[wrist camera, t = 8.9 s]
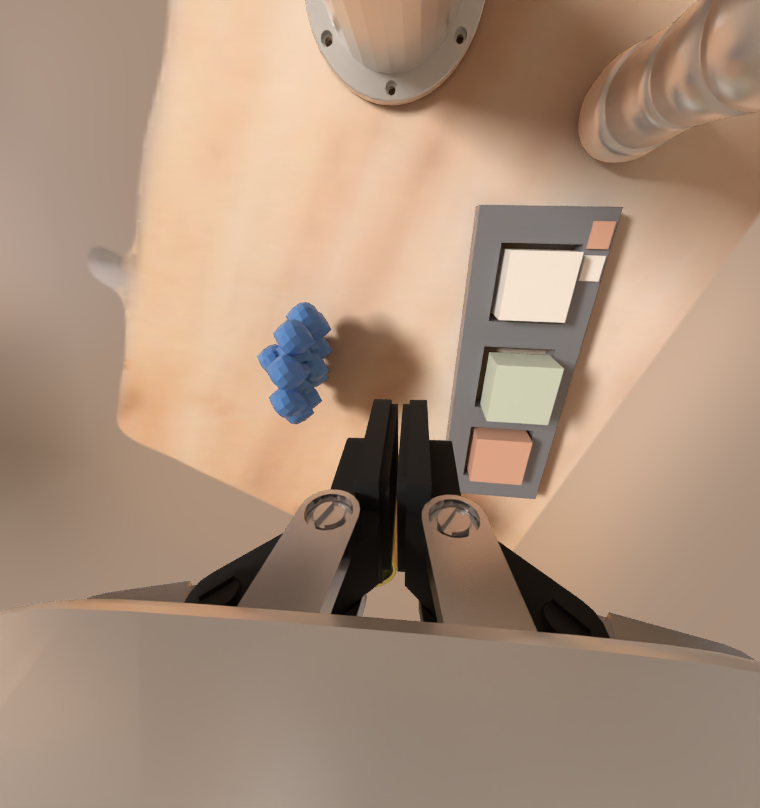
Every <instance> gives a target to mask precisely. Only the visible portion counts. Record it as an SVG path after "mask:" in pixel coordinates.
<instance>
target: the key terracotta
mask: <svg viewBox="0 0 760 808" xmlns="http://www.w3.org/2000/svg"><path fill="white" fill-rule="evenodd" d="M531 447H532V441H531V439H530V437H529V435H528V434H527V432H526V430H513V429H498V428H483V427H472V428H471V434H470V440H469V446H468V452H467V458H466V465H467V470H468V474H469V479H470V481H475V482H487V483H500V484H513V485H521V484H522V480H523V477H524V473H525V469H526V466H527V462H528V458H529V454H530V451H531Z"/></svg>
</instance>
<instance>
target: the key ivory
mask: <svg viewBox="0 0 760 808" xmlns="http://www.w3.org/2000/svg"><path fill="white" fill-rule="evenodd" d="M583 253H584V252H580V251H571V250H548V249H508V248H501V253H500V259H499V265H498V271H497V277H496V283H495V289H494V295H493V302H492V308H491V312H492V313H493V314H494V316H495V317H496V318H497V319H498V320H510V321H534V322H558V323H565V320H566V317H567V313H568V309H569V305H570V302H571V298H572V294H573V291H574V287H575V283H576V279H577V276H578V272H579V268H580V264H581V261H582V257H583Z"/></svg>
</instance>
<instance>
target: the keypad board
mask: <svg viewBox="0 0 760 808" xmlns="http://www.w3.org/2000/svg"><path fill="white" fill-rule="evenodd" d="M622 208H623V207H581V206H515V205H479V206H477V207H476V211H475V219H474V227H473V234H472V242H471V250H470V258H469V266H468V273H467V281H466V289H465V297H464V304H463V312H462V320H461V328H460V335H459V343H458V351H457V359H456V366H455V374H454V382H453V390H452V397H451V405H450V413H449V421H448V428H447V436H446V441H452V444H453V450H454V456H455V462H456V468H457V475H458V481H459V487H460V493H468V494H480V495H492V496H505V497H517V498H529V499H535V498H536V495H537V491H538V488H539V485H540V481H541V478H542V475H543V471H544V468H545V465H546V461H547V458H548V455H549V451H550V448H551V445H552V441H553V438H554V435H555V431H556V428H557V425H558V421H559V418H560V415H561V411H562V408H563V405H564V401H565V398H566V395H567V391H568V388H569V385H570V382H571V378H572V375H573V372H574V368H575V365H576V362H577V358H578V355H579V352H580V348H581V345H582V342H583V338H584V335H585V332H586V328H587V325H588V322H589V318H590V315H591V312H592V308H593V305H594V302H595V298H596V295H597V292H598V288H599V285H600V282H601V278H602V275H603V272H604V268H605V265H606V262H607V258H608V255H609V252H610V248H611V245H612V242H613V238H614V235H615V232H616V228H617V225H618V222H619V218H620V215H621V212H622ZM501 243H540V244H573V248H572V251H580V252H584V253H583V257H582V261H581V264H580V268H579V272H578V276H577V279H576V283H575V287H574V291H573V294H572V298H571V302H570V305H569V309H568V313H567V317H566V320H565V323H558V322H534V321H510V320H498V319H497V318H496V317H489V316H490V310H491V304H492V297H493V291H494V285H495V279H496V273H497V267H498V261H499V255H500V249H501ZM484 346H489V347H510V348H531V349H547V350H546V354H545V355H550V356H551V357H552V358H553V359H554V360H555V361H556V362H557V363H559V364H560V365H561V366H562V367H563V368H564V371H563V374H562V378H561V381H560V385H559V388H558V392H557V395H556V399H555V402H554V406H553V409H552V413H551V416H550V420H549V423H548V425H538V424H522V423H507V422H492V421H486V418H485V416H484V413H483V410H482V407H481V405H480V403H481V399H476V394H477V388H478V382H479V376H480V370H481V364H482V358H483V352H484ZM471 427H483V428H498V429H513V430H526V432H527V434H528V435H529V437H530V439H531V441H532V447H531V451H530V454H529V458H528V462H527V466H526V469H525V473H524V477H523V480H522V484H521V485H513V484H500V483H487V482H475V481H470V479H469V474H468V470H467V465H465V461H466V455H467V448H468V442H469V436H470V430H471Z"/></svg>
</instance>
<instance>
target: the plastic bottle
mask: <svg viewBox="0 0 760 808" xmlns="http://www.w3.org/2000/svg"><path fill="white" fill-rule="evenodd" d="M755 112H760V0H698V1H696V2H695V3H694V4H693V5H692V6H691V7H690V8H689V9H688V10H687V11H686V12H685V13H684V14H682V15H681V16H680V17H679V18H678V19H677V20H676V21H675V22H673V23H672V24H670V25H669V26H667V27H666V28H664V29H663V30H661V31H660V32H659V33H657V34H656V35H654V36H652V37H649V38H647V39H645V40H643V41H641V42H639V43H637V44H635V45H633V46H632V47H630V48H628V49H627V50H625V51H624V52H622V53H621V54H620V55H618V56H617V57H615V58H614V59H613V60H612V61H611V62H610V63H609V64H608V65H607V66H606V67H605V68H604V70H603V71H602V72H601V73H600V75H599V76H598V77H597V79H596V80H595V82H594V83H593V85H592V86H591V88H590V90H589V91H588V93H587V95H586V97H585V99H584V102H583V104H582V106H581V110H580V114H579V122H578V131H579V138H580V141H581V144H582V146H583V147H584V149H585V151H586V152H587V153H588V154H589V155H590V156H591V157H593V158H595V159H597V160H599V161H603V162H627V161H632V160H635V159H637V158H640V157H643V156H644V155H646V154H648V153H649V152H651V151H653V150H654V149H656V148H658V147H660V146H661V145H663V144H664V143H666V142H667V141H668V140H670V139H671V138H673V137H674V136H676V135H678V134H680V133H682V132H684V131H686V130H688V129H690V128H692V127H696V126H699V125H701V124H705V123H709V122H712V121H715V120H718V119H721V118H726V117H732V116H738V115H744V114H750V113H755Z"/></svg>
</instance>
